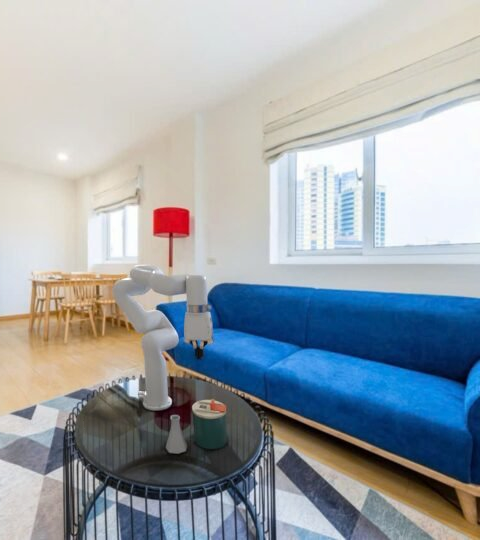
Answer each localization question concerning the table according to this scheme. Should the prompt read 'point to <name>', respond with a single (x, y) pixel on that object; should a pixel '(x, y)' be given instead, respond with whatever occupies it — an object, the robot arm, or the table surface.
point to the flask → (176, 437)
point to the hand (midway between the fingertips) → (199, 358)
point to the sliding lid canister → (209, 425)
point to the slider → (217, 407)
